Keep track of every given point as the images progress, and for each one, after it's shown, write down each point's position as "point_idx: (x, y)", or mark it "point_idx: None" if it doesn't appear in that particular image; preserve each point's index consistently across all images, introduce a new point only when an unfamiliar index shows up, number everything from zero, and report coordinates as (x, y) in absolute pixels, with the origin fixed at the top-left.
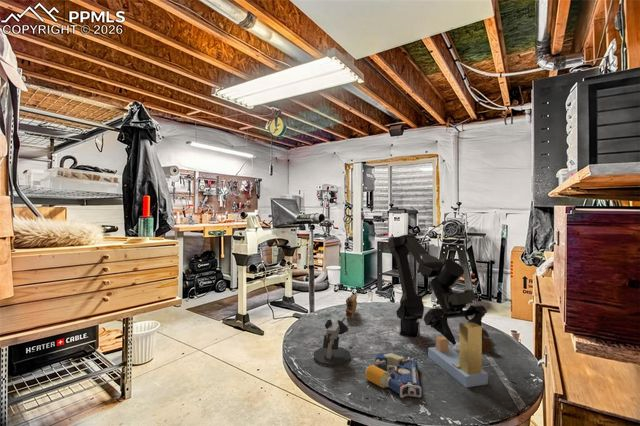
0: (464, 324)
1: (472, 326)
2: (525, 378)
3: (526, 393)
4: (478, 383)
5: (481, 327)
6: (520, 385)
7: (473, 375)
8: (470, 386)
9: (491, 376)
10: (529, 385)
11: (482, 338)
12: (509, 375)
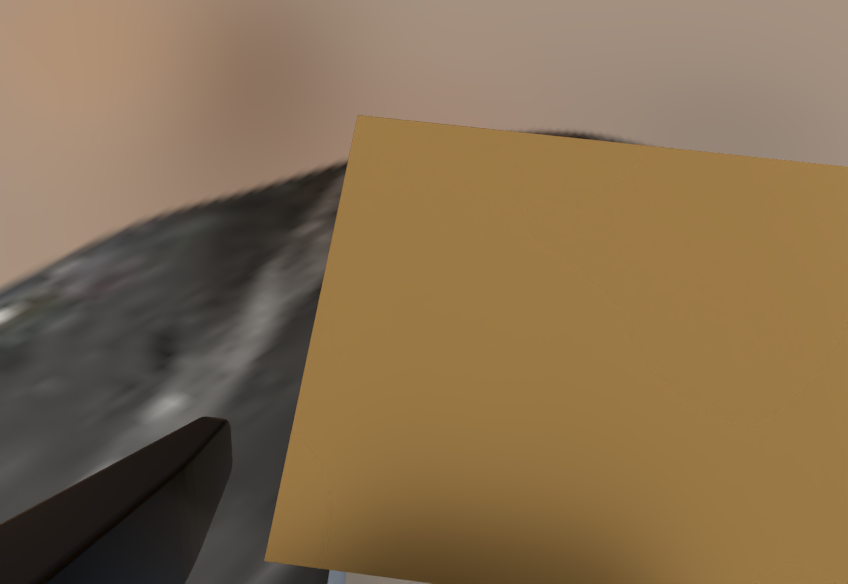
0: (828, 465)
1: (646, 214)
2: (24, 353)
3: (228, 232)
4: None
5: (369, 136)
6: (163, 304)
7: None
8: None
9: (234, 474)
10: (106, 283)
11: (215, 426)
12: (84, 430)
